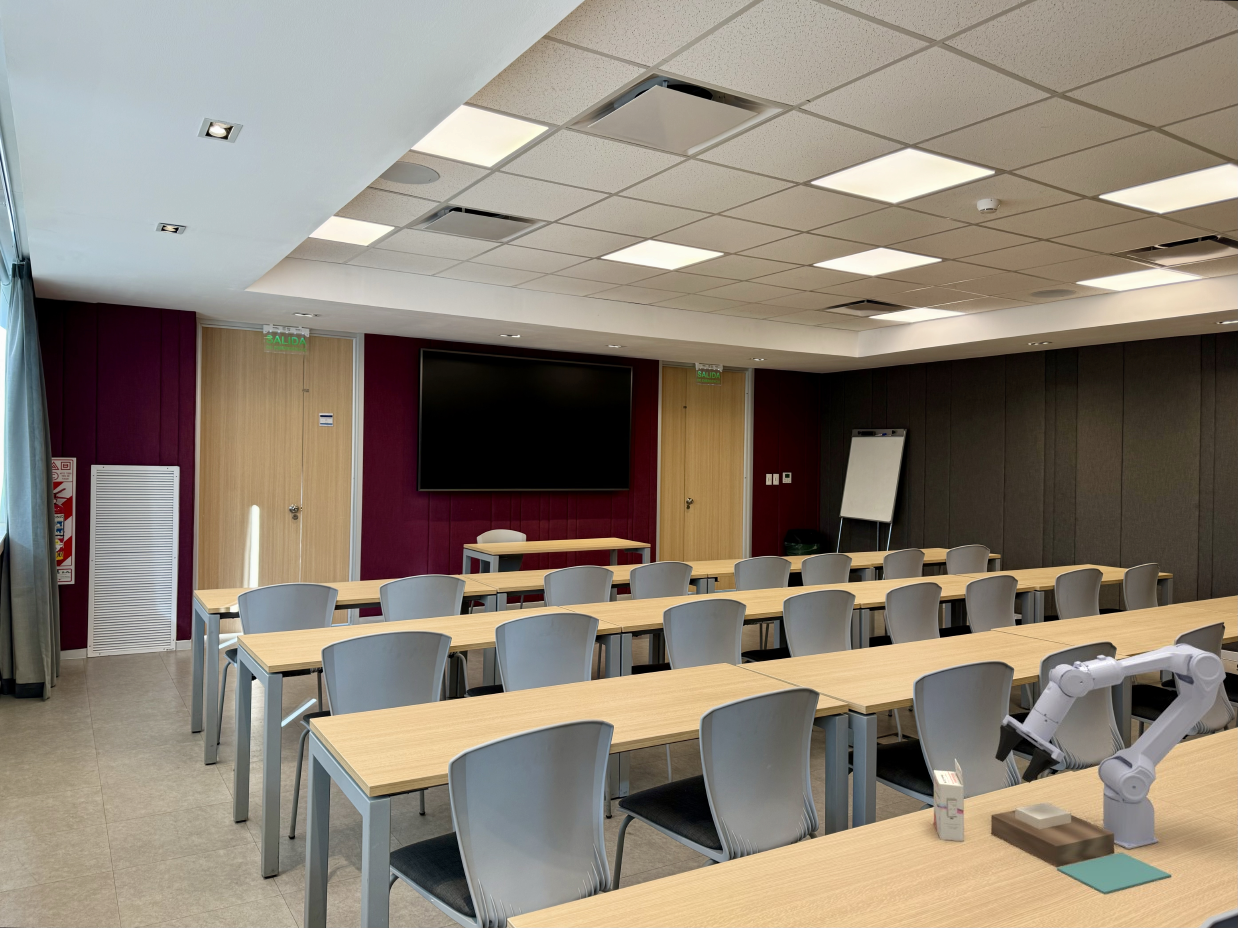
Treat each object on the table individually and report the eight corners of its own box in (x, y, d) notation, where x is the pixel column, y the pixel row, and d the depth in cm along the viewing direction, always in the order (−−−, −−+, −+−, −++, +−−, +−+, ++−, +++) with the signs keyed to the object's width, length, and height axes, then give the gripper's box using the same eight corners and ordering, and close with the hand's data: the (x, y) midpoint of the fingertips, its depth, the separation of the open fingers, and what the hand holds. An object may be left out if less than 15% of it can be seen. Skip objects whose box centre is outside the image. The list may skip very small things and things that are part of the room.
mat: (1121, 854, 167) (1121, 852, 167) (1171, 876, 158) (1171, 874, 158) (1056, 869, 160) (1056, 867, 160) (1104, 894, 151) (1104, 891, 151)
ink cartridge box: (932, 823, 182) (932, 755, 182) (956, 825, 181) (956, 757, 181) (939, 839, 173) (939, 768, 174) (964, 842, 172) (964, 770, 173)
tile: (1046, 811, 178) (1046, 802, 178) (1071, 822, 173) (1071, 812, 173) (1015, 817, 175) (1015, 808, 175) (1039, 829, 169) (1039, 819, 169)
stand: (1046, 822, 182) (1046, 803, 182) (1114, 853, 168) (1114, 833, 168) (991, 833, 176) (991, 814, 176) (1056, 866, 162) (1056, 846, 162)
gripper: (1009, 692, 182) (976, 745, 182) (1062, 728, 168) (1026, 784, 169) (1028, 703, 184) (995, 755, 185) (1082, 739, 171) (1047, 794, 172)
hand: (1012, 769), depth 177 cm, fingers open, 7 cm apart
